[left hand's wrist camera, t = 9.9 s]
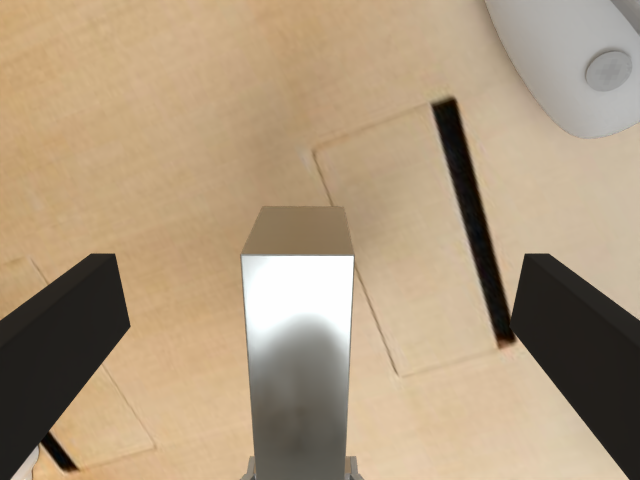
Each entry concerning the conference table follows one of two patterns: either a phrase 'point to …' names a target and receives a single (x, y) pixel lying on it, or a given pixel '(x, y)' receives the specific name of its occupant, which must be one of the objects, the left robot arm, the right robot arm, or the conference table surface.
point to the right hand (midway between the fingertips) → (303, 461)
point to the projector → (576, 59)
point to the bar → (299, 340)
